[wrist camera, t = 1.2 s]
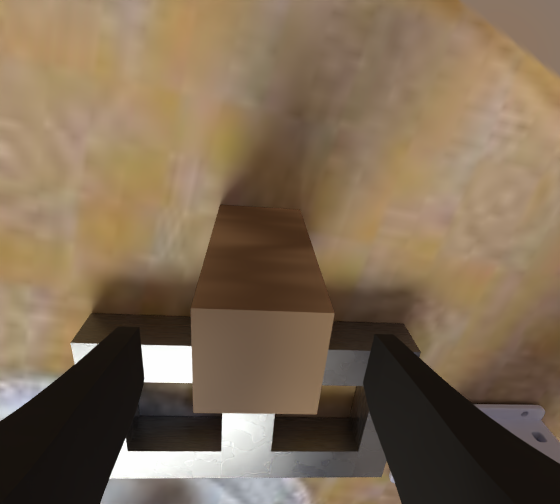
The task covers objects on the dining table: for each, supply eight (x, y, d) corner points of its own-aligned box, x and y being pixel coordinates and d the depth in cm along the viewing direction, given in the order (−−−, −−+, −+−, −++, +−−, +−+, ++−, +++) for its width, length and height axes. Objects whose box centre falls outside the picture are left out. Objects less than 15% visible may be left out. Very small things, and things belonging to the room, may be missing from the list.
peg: (300, 209, 18) (334, 313, 10) (292, 278, 20) (316, 414, 12) (220, 204, 18) (190, 308, 10) (219, 275, 20) (193, 413, 12)
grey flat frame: (403, 323, 22) (420, 352, 20) (370, 442, 26) (381, 477, 24) (91, 313, 20) (70, 342, 18) (112, 442, 25) (97, 478, 22)
